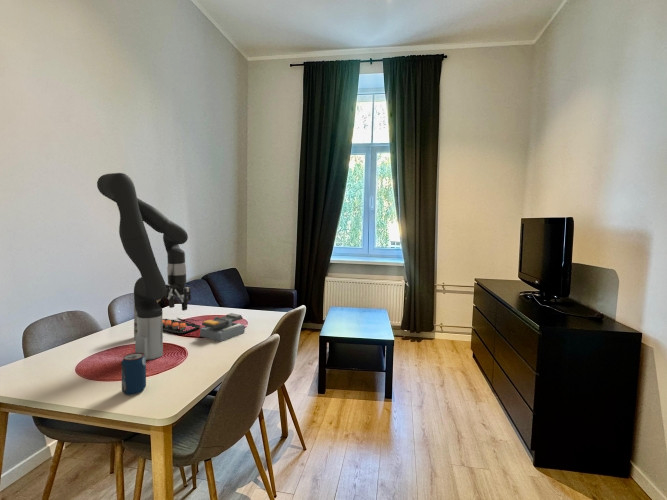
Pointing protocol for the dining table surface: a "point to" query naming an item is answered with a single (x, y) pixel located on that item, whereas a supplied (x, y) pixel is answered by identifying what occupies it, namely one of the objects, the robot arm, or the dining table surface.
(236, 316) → the breaker rocker
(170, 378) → the dining table surface
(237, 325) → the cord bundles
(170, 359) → the dining table surface
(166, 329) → the sushi plate
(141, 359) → the soda can
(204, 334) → the switch box
